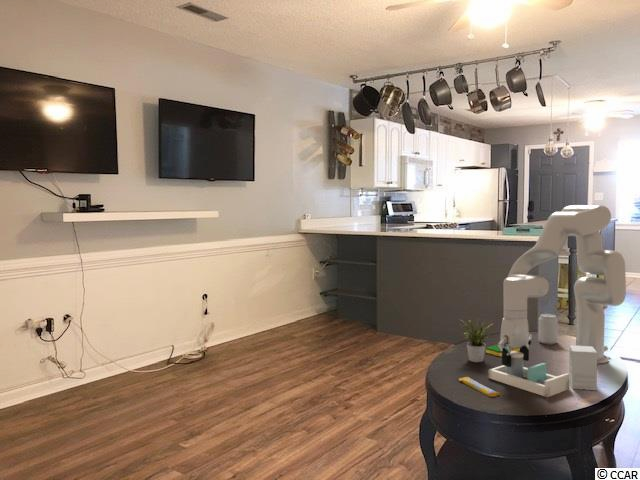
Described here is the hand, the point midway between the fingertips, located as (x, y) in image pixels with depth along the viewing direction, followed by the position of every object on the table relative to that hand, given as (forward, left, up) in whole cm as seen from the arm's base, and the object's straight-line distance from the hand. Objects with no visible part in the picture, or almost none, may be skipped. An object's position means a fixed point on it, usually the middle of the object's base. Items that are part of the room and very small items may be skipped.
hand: (515, 362), depth 177 cm
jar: (+1, 0, -6) cm, 6 cm away
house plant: (-5, -23, -6) cm, 24 cm away
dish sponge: (-24, -23, -6) cm, 34 cm away
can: (-50, -20, -6) cm, 54 cm away
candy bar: (+17, -2, -6) cm, 18 cm away
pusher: (+1, +11, -5) cm, 12 cm away
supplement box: (-11, +17, -6) cm, 21 cm away
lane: (+1, +5, -6) cm, 8 cm away
